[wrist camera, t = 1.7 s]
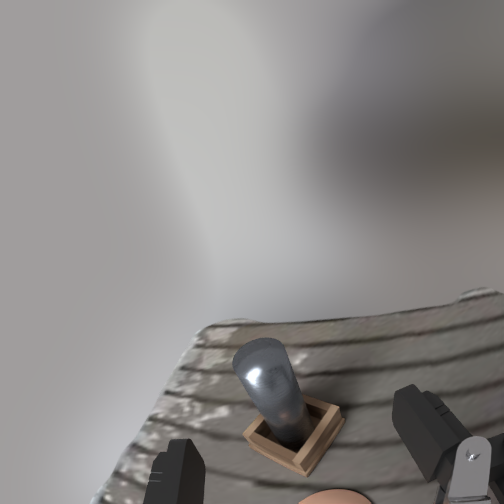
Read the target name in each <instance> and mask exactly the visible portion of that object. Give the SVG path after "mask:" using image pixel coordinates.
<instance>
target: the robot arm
mask: <svg viewBox="0 0 504 504" xmlns="http://www.w3.org/2000/svg"><path fill="white" fill-rule="evenodd" d="M392 421H393V425H394V427H395V429H396V431H397V432H398V434H399V436H400V437H401V439H402V440H403V442H404V444H405V445H406V447H407V449H408V450H409V452H410V454H411V455H412V457H413V459H414V460H415V462H416V464H417V465H418V467H419V469H420V471H421V472H422V474H423V476H424V477H425V479H426V481H427V482H428V483H429V482H431V481H432V480H434V479H437V480H438V482H439V485H438V488H437V492H436V496H435V499H434V502H433V504H491V498H490V497H487V489H488V484H489V486H490V488H491V489H492V491H493V493H494V494H495V496H496V498H497V500H498V501H499V503H500V504H504V433H502V434H500V435H497V436H495V437H492V438H489V439H485V438H484V437H480V436H472V435H471V434H470V433H469V432H468V431H467V430H466V428H465V427H464V426H463V425H462V424H461V422H460V421H459V420H458V419H457V418H456V416H455V415H454V414H453V413H452V412H450V409H449V408H448V407H447V406H446V405H444V403H443V401H442V400H441V399H440V398H439V397H438V396H437V395H435V394H433V393H431V392H429V391H425V392H423V393H421V392H420V390H419V389H418V388H417V387H416V386H415V385H414V384H411V385H409V386H406V387H404V388H402V389H399V390H397V391H395V394H394V403H393V411H392ZM205 472H206V471H205V464H204V461H203V459H202V457H201V455H200V454H199V452H198V450H197V449H196V447H195V445H194V444H193V442H192V440H191V439H172V440H170V442H169V445H168V449H167V452H160V453H159V455H158V456H157V457H156V459H155V460H154V461H153V465H152V469H151V474H150V477H149V482H148V485H147V489H146V493H145V498H144V502H143V504H203V499H204V485H205Z"/></svg>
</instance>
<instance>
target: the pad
mask: <svg viewBox="0 0 504 504" xmlns="http://www.w3.org/2000/svg"><path fill="white" fill-rule="evenodd" d="M298 504H371V502H370V501H369V500H368V499H367V498H365V497H364V496H362V495H361V494H359V493H356V492H353V491H350V490H344V489H332V490H325V491H321V492H318V493H315V494H313V495H311V496H309V497H307V498H305V499H304V500H302V501H301V502H299V503H298Z"/></svg>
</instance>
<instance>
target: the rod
mask: <svg viewBox="0 0 504 504" xmlns="http://www.w3.org/2000/svg"><path fill="white" fill-rule="evenodd" d="M232 364H233V369H234V371H235V372H236V374H237V376H238V377H239V379H240V381H241V382H242V384H243V386H244V387H245V389H246V391H247V392H248V394H249V396H250V397H251V399H252V401H253V402H254V404H255V405H256V407H257V409H258V410H259V412H260V413H261V415H262V417H263V418H264V420H265V421H266V423H267V424H268V426H269V428H270V429H271V431H272V432H273V434H274V435H275V437H276V438H277V440H278V441H279V443H280V444H281V445H282V446H283V447H284V448H286V449H290V450H298V449H301V448H302V447H303V446H304V444H305V443H306V441H307V440H308V439H309V437H310V436H311V434H312V433H313V432H314V430H315V428H314V425H313V423H312V420H311V417H310V414H309V412H308V409H307V406H306V404H305V401H304V398H303V396H302V393H301V390H300V388H299V385H298V382H297V380H296V377H295V374H294V371H293V369H292V366H291V363H290V361H289V358H288V355H287V353H286V350H285V347H284V345H283V344H282V343H281V342H280V341H278V340H276V339H273V338H259V339H255V340H252V341H250V342H248V343H246V344H245V345H243V346H242V347H241V348H240V349H239V350H238V351H237V352H236V354H235V356H234V358H233V363H232Z"/></svg>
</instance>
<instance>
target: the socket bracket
mask: <svg viewBox="0 0 504 504" xmlns="http://www.w3.org/2000/svg"><path fill="white" fill-rule="evenodd" d="M302 396H303V398H304V401H305V404H306V406H307V409H308V412H309V414H310V417H311V420H312V423H313V425H314V428H315V430H314V432H313V433H312V434H311V436H310V437H309V439H308V440H307V441H306V443H305V444H304V446H303V447H302V448H301V449H298V450H290V449H286V448H284V447H283V446H282V445H281V444H280V443H279V441H278V440H277V438H276V437H275V435H274V434H273V432H272V431H271V429H270V428H269V426H268V424H267V423H266V421H265V420H264V418H263V417H262V415H261V413H260V414H259V415H258V417H257V418H256V419H255V420H254V421H253V422H252V423H251V425H250V426H249V427H248V428H247V429H246V430H245V431H244V433H243V435H244V437H245V438H246V439H247V440H248V441H249V442H250V444H249V445H248V446H249V447H250V448H251V449H253V450H255V451H257V452H258V453H260V454H262V455H264V456H265V457H267V458H269V459H271V460H273V461H275V462H277V463H279V464H281V465H282V466H284V467H286V468H288V469H290V470H292V471H294V472H297V473H299V474H301V475H303V476H305V477H308V476H309V475H310V473H311V472H312V471H313V469H314V468H315V466H316V465H317V464H318V462H319V461H320V459H321V458H322V457H323V455H324V454H325V452H326V451H327V449H328V448H329V446H330V445H331V443H332V442H333V440H334V439H335V437H336V436H337V434H338V433H339V431H340V429H341V428H342V426H343V425H344V423H345V418H342V417H341V414H340V408H339V406H336V405H333V404H330V403H327V402H324V401H321V400H318V399H315V398H312V397H310V396H307V395H304V394H302Z"/></svg>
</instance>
